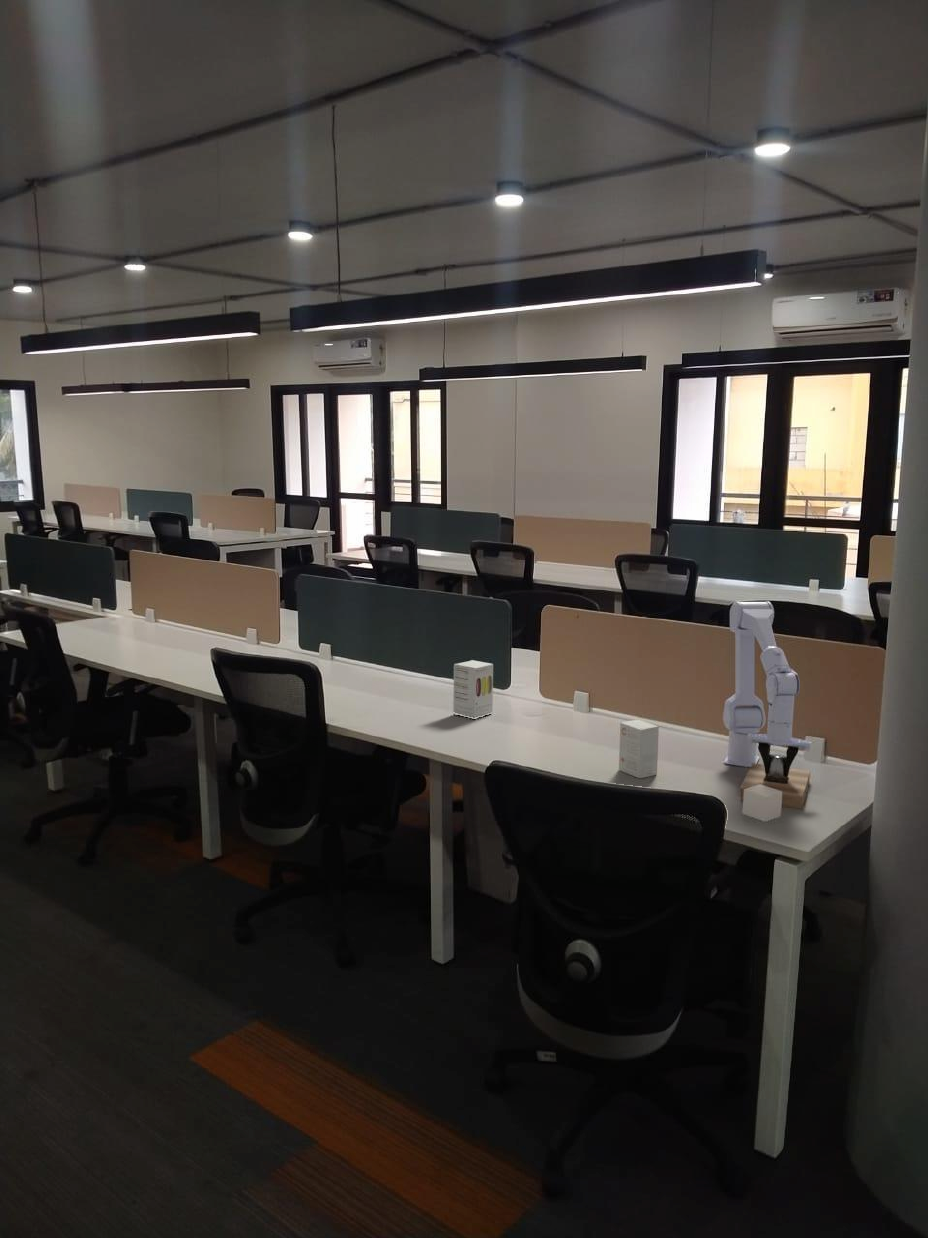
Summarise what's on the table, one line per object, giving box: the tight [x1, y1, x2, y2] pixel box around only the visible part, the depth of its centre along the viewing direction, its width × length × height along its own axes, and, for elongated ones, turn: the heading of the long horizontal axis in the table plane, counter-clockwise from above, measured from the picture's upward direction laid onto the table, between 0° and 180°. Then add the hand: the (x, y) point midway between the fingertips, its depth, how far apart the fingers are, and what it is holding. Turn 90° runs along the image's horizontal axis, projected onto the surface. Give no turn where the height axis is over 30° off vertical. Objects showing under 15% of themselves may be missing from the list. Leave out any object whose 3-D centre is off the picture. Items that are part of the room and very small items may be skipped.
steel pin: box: [768, 753, 786, 784], centre depth 218 cm, size 4×4×7 cm
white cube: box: [742, 784, 782, 822], centre depth 203 cm, size 6×6×6 cm
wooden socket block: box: [739, 763, 811, 810], centre depth 219 cm, size 20×14×3 cm
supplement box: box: [452, 659, 494, 718], centre depth 284 cm, size 10×9×17 cm
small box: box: [618, 719, 660, 779], centre depth 231 cm, size 8×6×13 cm
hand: (776, 774), depth 218 cm, fingers closed on steel pin, 4 cm apart
